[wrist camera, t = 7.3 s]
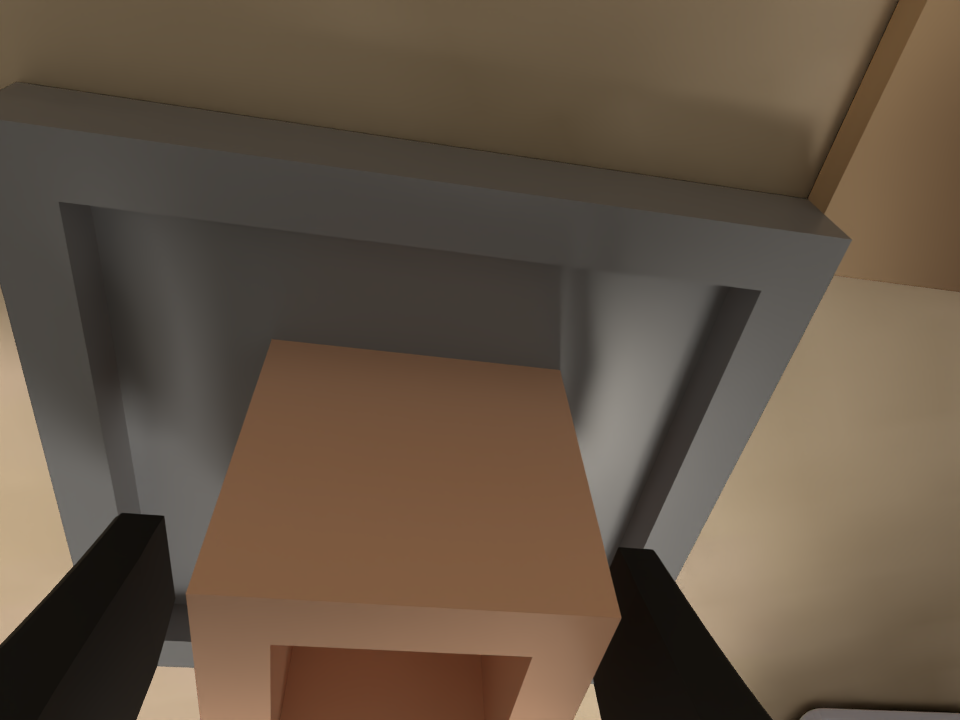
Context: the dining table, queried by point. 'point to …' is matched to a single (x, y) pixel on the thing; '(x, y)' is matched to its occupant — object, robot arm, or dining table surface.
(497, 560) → the brown cube box
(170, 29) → the dining table surface
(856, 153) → the stand
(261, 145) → the tray
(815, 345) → the dining table surface
